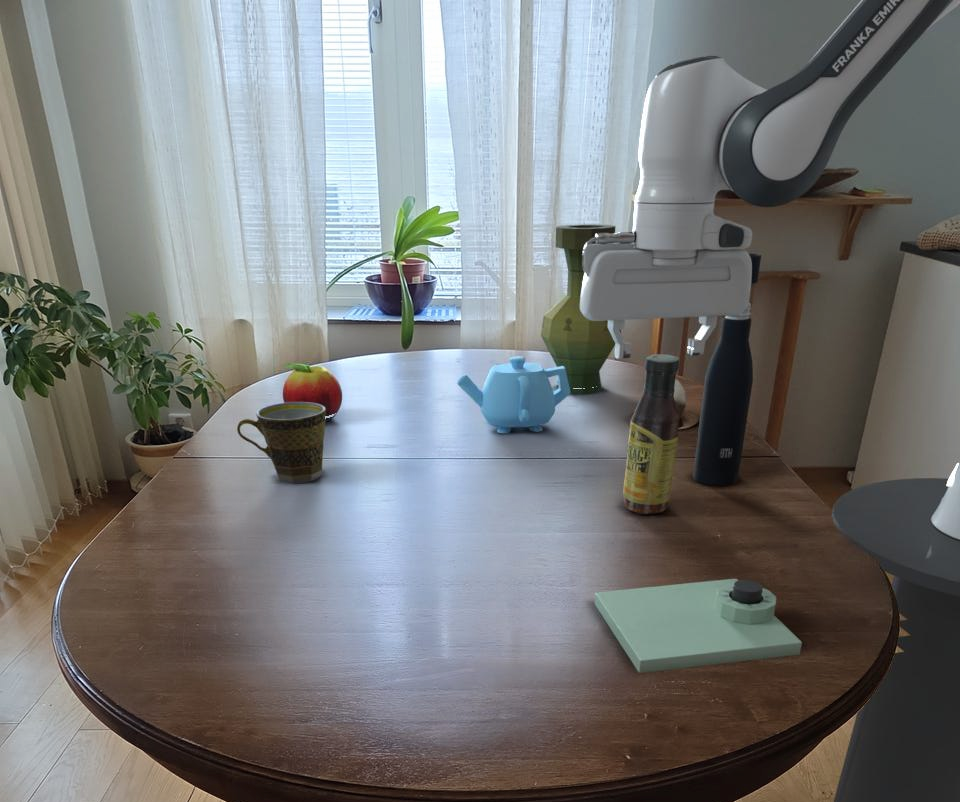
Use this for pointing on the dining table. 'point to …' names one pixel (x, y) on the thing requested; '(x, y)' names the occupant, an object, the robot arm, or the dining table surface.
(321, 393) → the fruit
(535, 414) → the teapot
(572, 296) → the vase
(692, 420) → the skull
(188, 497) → the dining table surface
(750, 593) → the button
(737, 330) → the navy water bottle
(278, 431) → the ceramic cup
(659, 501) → the sauce bottle
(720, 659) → the green panel with knob
